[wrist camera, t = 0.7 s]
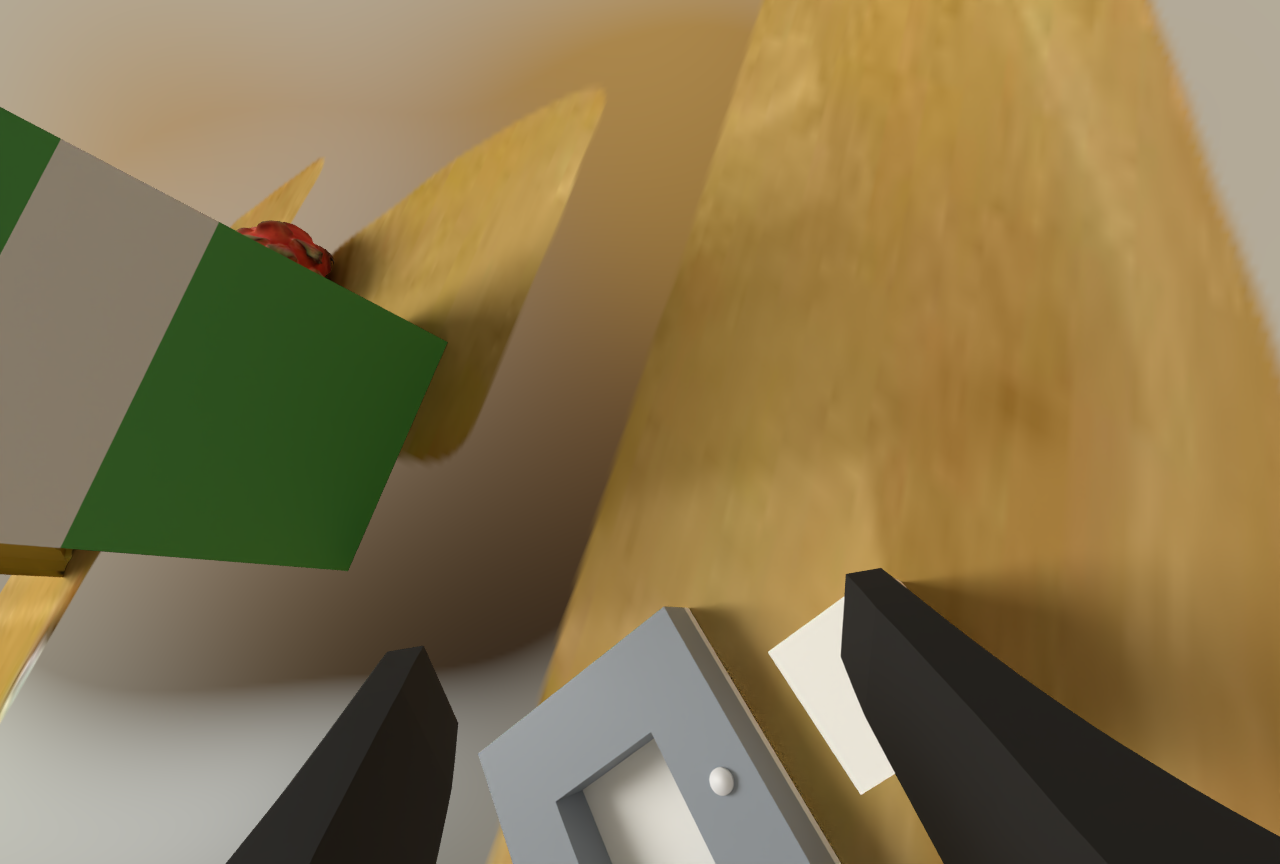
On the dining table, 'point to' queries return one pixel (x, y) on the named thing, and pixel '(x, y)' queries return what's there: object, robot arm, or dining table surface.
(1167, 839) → the robot arm
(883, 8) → the dining table surface
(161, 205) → the hardback book
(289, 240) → the dragon fruit
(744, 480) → the dining table surface
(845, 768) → the block
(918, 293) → the dining table surface
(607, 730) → the outlet box
